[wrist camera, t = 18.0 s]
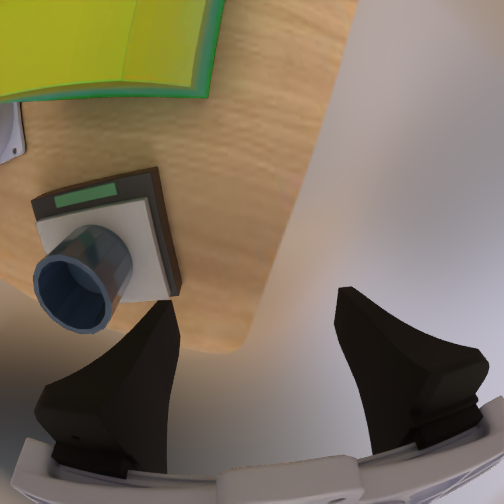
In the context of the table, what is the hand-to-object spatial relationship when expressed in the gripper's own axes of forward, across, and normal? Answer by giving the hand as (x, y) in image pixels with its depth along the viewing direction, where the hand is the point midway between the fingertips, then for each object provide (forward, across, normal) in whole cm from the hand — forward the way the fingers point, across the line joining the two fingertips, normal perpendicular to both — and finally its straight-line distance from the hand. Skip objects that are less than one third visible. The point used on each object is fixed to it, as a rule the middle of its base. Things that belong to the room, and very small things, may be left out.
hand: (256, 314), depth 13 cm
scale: (+9, +10, 0) cm, 14 cm away
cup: (+7, +10, 0) cm, 12 cm away
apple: (+10, +6, -15) cm, 19 cm away
